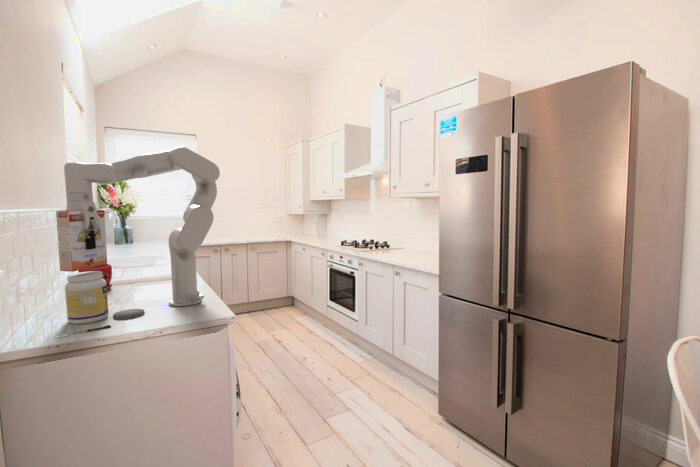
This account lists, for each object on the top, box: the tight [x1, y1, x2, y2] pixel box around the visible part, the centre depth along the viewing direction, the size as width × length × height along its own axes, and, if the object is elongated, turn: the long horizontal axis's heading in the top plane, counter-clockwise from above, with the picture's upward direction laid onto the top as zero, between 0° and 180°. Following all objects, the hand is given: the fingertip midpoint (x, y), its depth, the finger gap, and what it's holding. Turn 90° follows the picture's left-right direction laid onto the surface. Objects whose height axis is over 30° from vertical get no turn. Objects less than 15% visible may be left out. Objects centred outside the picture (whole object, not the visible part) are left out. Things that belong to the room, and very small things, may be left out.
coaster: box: [112, 308, 145, 321], centre depth 137 cm, size 10×10×1 cm
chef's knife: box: [67, 324, 112, 336], centre depth 119 cm, size 19×1×3 cm
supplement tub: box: [64, 271, 109, 325], centre depth 131 cm, size 12×12×17 cm
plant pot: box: [78, 263, 113, 291], centre depth 175 cm, size 13×13×12 cm
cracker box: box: [55, 209, 108, 273], centre depth 129 cm, size 14×6×21 cm, turn 168°
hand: (83, 248), depth 130 cm, fingers closed on cracker box, 6 cm apart
